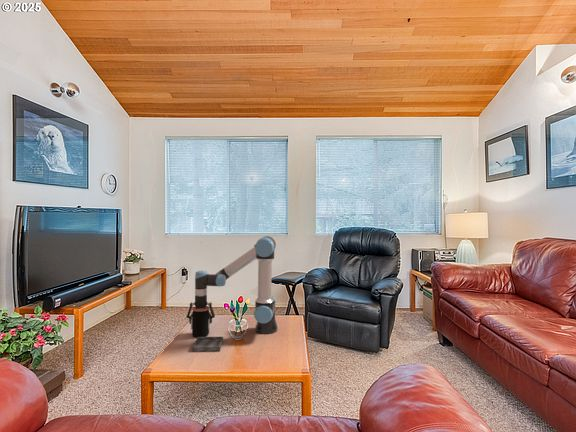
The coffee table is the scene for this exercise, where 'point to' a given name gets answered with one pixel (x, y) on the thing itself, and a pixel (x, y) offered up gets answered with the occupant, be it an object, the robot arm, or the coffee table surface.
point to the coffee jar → (200, 322)
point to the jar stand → (207, 344)
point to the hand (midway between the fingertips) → (200, 328)
